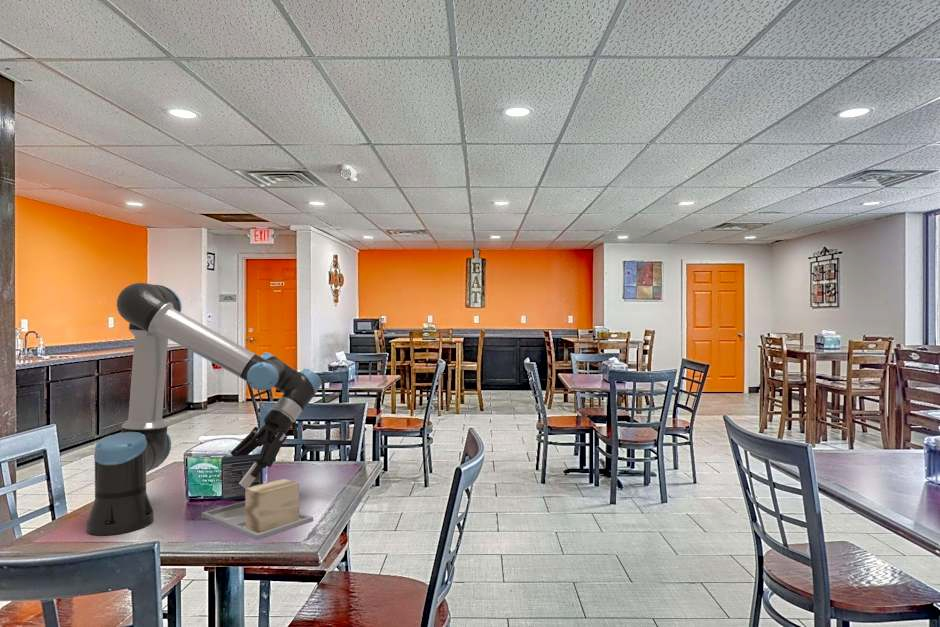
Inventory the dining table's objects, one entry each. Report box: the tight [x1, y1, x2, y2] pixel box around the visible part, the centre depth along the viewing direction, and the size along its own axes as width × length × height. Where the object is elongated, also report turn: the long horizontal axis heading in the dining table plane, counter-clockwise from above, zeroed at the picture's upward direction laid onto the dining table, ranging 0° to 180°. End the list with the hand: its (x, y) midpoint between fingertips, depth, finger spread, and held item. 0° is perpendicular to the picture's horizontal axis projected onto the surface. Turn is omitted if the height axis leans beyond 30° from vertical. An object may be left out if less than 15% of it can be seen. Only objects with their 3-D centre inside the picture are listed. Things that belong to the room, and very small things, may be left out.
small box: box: [220, 453, 264, 502], centre depth 155 cm, size 11×6×10 cm, turn 111°
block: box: [244, 478, 300, 533], centre depth 146 cm, size 7×11×10 cm, turn 142°
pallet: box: [200, 500, 314, 541], centre depth 150 cm, size 27×16×2 cm, turn 52°
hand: (232, 483), depth 153 cm, fingers closed on small box, 10 cm apart
